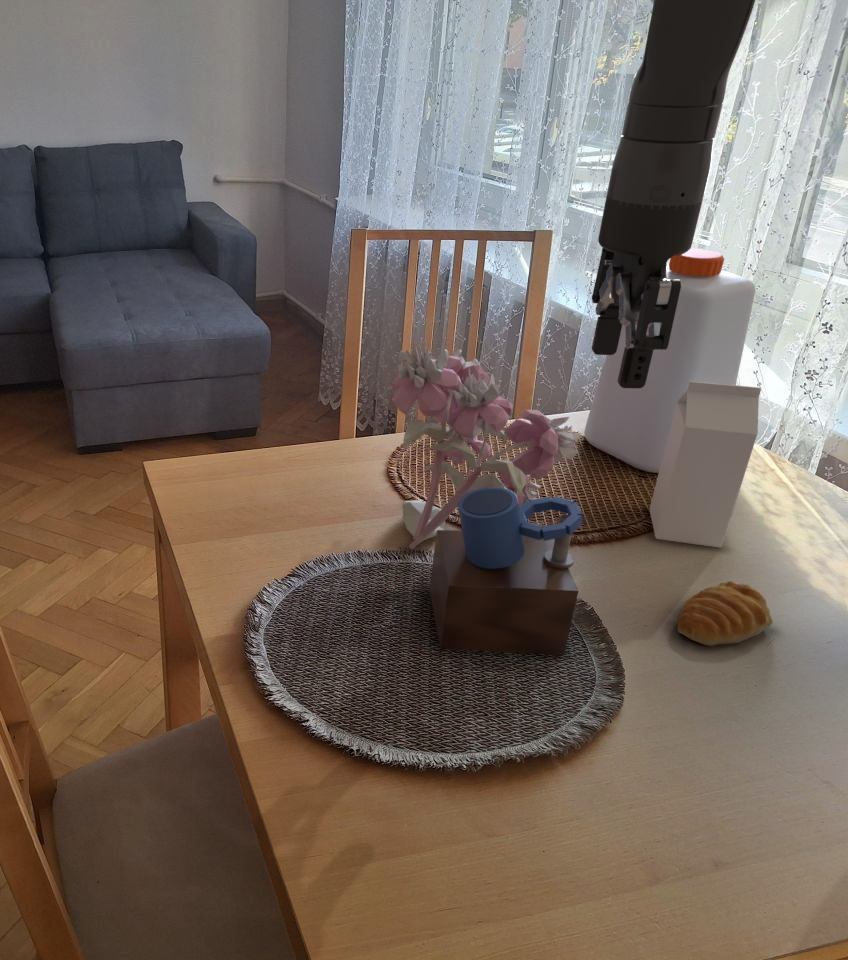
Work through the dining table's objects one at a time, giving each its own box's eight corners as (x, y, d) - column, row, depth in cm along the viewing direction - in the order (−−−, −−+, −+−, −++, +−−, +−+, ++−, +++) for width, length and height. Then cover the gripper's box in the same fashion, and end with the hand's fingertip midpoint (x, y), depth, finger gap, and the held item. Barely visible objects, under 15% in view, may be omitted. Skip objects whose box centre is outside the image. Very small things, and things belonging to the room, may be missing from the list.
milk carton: (721, 549, 101) (768, 400, 91) (654, 539, 103) (694, 393, 93) (711, 518, 106) (754, 376, 97) (648, 510, 109) (685, 370, 99)
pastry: (718, 662, 84) (728, 631, 82) (655, 625, 89) (664, 595, 87) (774, 630, 88) (785, 599, 86) (711, 596, 93) (720, 567, 91)
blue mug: (574, 521, 87) (569, 470, 84) (591, 554, 81) (585, 501, 79) (462, 540, 89) (453, 491, 87) (471, 574, 84) (462, 522, 81)
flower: (561, 595, 91) (620, 363, 89) (352, 544, 96) (402, 324, 94) (538, 567, 111) (585, 376, 108) (365, 526, 116) (407, 344, 113)
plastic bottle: (655, 482, 115) (709, 275, 101) (569, 438, 127) (607, 247, 113) (733, 458, 120) (794, 258, 106) (644, 418, 132) (689, 234, 118)
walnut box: (548, 595, 94) (569, 492, 87) (571, 656, 85) (596, 547, 79) (429, 590, 95) (441, 488, 89) (440, 649, 86) (454, 541, 80)
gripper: (735, 210, 67) (685, 400, 75) (671, 178, 80) (633, 344, 87) (635, 211, 68) (595, 398, 76) (586, 178, 80) (557, 343, 88)
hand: (616, 369), depth 82 cm, fingers open, 8 cm apart
